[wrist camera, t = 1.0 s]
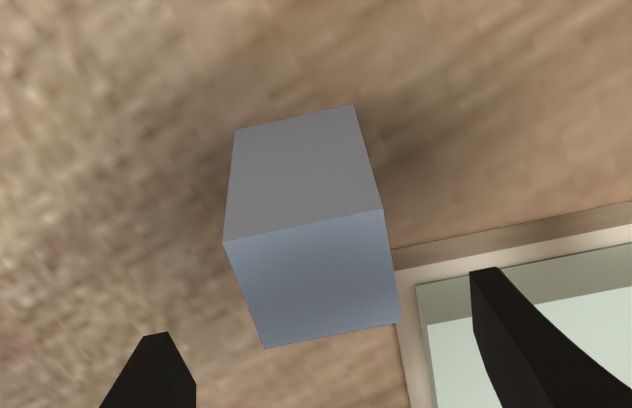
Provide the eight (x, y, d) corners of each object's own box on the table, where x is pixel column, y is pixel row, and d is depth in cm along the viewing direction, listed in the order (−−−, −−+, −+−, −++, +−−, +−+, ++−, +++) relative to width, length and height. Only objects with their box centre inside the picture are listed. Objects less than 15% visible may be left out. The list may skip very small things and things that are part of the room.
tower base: (408, 401, 29) (416, 436, 27) (377, 240, 23) (386, 272, 21) (624, 361, 28) (646, 395, 26) (654, 183, 22) (685, 213, 20)
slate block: (266, 223, 21) (264, 348, 16) (235, 130, 19) (221, 242, 14) (371, 201, 21) (402, 321, 16) (353, 103, 18) (382, 208, 13)
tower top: (434, 420, 26) (445, 460, 25) (415, 286, 21) (426, 325, 20) (626, 385, 26) (650, 424, 24) (654, 238, 21) (687, 275, 19)
